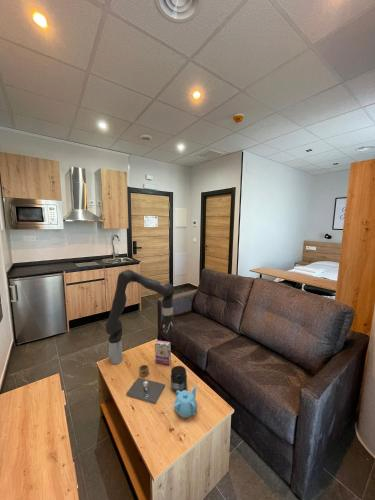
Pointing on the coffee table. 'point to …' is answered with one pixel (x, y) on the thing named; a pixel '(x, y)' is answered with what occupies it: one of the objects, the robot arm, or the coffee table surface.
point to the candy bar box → (163, 352)
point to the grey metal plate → (146, 390)
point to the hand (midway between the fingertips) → (168, 334)
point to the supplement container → (178, 378)
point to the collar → (144, 370)
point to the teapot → (185, 403)
